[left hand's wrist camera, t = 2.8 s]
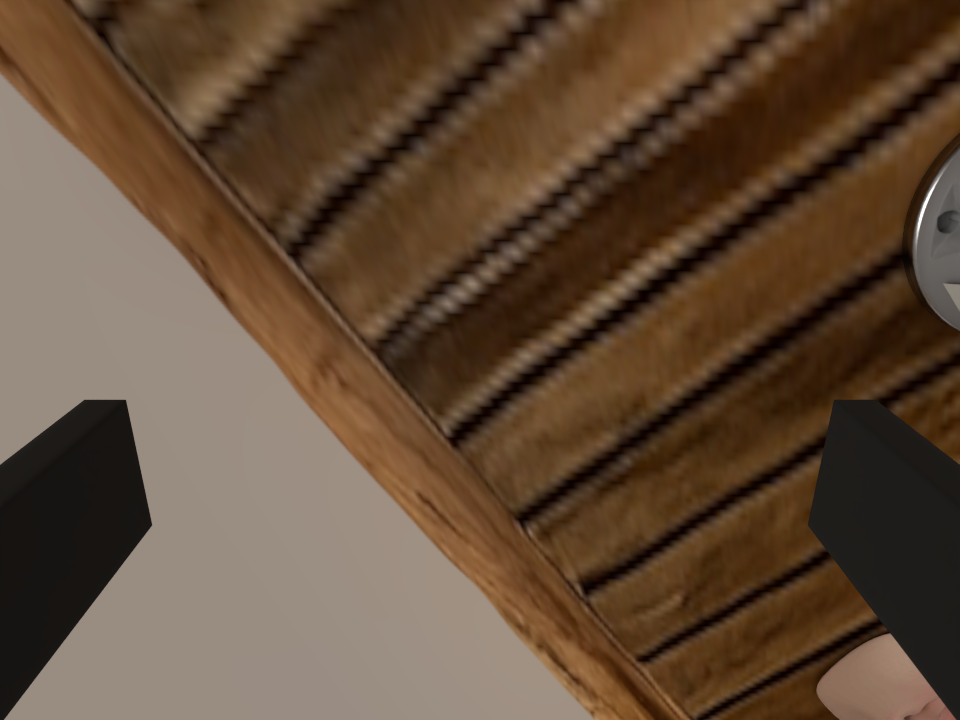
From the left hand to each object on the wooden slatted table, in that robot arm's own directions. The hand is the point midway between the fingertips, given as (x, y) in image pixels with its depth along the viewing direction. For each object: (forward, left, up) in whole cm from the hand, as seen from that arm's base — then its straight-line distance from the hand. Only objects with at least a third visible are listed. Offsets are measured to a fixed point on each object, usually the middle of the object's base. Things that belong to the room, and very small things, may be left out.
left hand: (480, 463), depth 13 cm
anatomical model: (0, +53, -32) cm, 61 cm away
